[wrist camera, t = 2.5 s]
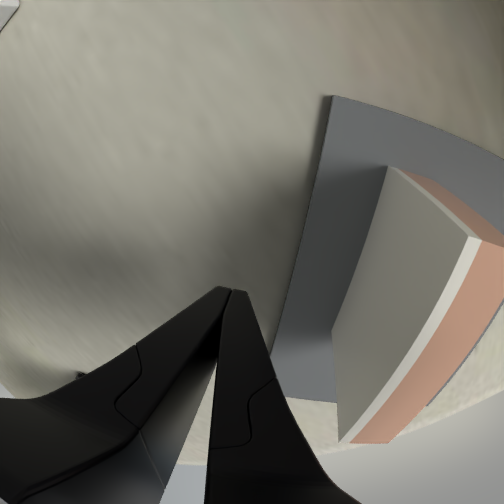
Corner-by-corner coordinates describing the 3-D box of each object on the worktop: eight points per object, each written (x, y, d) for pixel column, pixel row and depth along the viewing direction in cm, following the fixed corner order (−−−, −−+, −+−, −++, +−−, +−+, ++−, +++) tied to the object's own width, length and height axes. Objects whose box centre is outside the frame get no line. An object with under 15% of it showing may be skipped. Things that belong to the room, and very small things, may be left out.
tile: (369, 336, 14) (387, 443, 8) (331, 330, 14) (338, 442, 9) (432, 180, 10) (525, 255, 5) (388, 165, 10) (468, 236, 5)
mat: (426, 401, 17) (427, 406, 16) (260, 387, 17) (259, 392, 17) (547, 186, 9) (552, 189, 9) (332, 95, 9) (333, 95, 9)
